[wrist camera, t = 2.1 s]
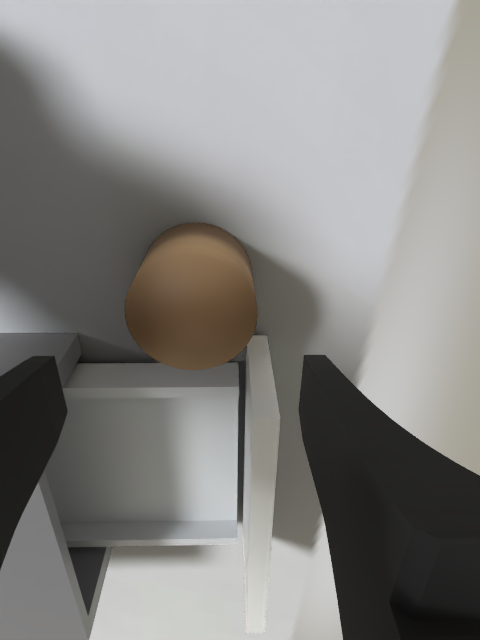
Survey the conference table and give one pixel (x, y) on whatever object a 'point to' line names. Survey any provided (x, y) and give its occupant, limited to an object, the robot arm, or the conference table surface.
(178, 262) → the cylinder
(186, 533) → the tray
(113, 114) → the conference table surface
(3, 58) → the conference table surface
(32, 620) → the housing
